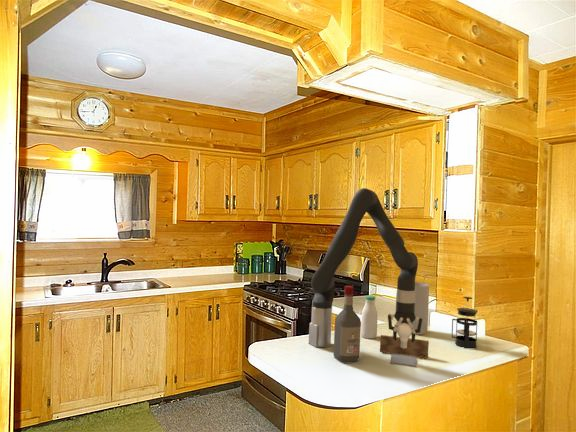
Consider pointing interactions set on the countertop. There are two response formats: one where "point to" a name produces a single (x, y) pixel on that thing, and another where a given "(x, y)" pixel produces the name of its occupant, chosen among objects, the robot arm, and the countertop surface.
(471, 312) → the french press
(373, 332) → the milk bottle
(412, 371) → the countertop surface
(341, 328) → the liquor
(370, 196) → the robot arm
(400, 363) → the mat
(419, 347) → the brown wooden block
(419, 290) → the cylinder vase
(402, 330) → the lightbulb
